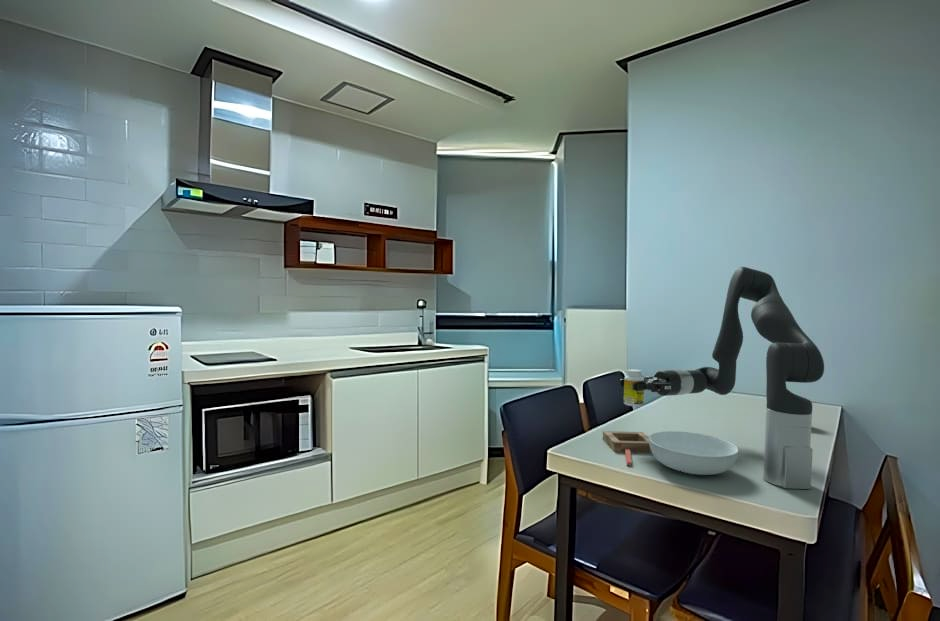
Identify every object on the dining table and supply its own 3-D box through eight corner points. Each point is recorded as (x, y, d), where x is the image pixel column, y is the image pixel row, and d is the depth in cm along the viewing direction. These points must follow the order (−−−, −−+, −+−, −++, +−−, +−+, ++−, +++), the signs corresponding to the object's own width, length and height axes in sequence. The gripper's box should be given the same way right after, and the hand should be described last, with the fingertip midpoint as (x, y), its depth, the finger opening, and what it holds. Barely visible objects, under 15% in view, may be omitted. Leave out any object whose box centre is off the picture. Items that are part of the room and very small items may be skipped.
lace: (631, 466, 130) (631, 462, 130) (626, 465, 130) (626, 461, 130) (629, 452, 142) (629, 449, 142) (625, 452, 142) (625, 448, 142)
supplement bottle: (637, 407, 146) (638, 372, 145) (619, 404, 150) (620, 369, 149) (646, 405, 149) (648, 370, 149) (629, 402, 153) (630, 368, 153)
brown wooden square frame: (656, 452, 143) (657, 443, 143) (613, 451, 143) (614, 442, 142) (642, 440, 155) (642, 432, 155) (602, 439, 155) (603, 431, 154)
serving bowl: (646, 475, 124) (647, 447, 124) (649, 452, 143) (650, 427, 143) (742, 490, 116) (744, 460, 116) (732, 462, 136) (733, 437, 135)
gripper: (657, 366, 161) (612, 368, 155) (691, 373, 147) (643, 375, 142) (656, 390, 161) (611, 392, 155) (690, 399, 147) (642, 402, 142)
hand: (626, 384), depth 148 cm, fingers closed on supplement bottle, 5 cm apart
